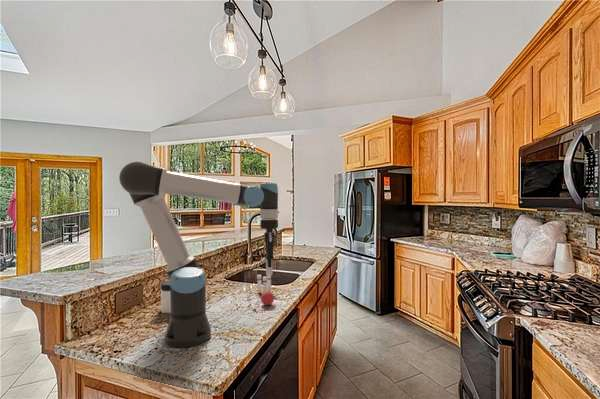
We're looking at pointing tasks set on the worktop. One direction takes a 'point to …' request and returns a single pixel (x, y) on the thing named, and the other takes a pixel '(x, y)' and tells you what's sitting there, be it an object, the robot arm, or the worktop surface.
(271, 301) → the ball
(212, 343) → the worktop surface
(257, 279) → the pin
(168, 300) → the jar
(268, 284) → the pin
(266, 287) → the front pin
